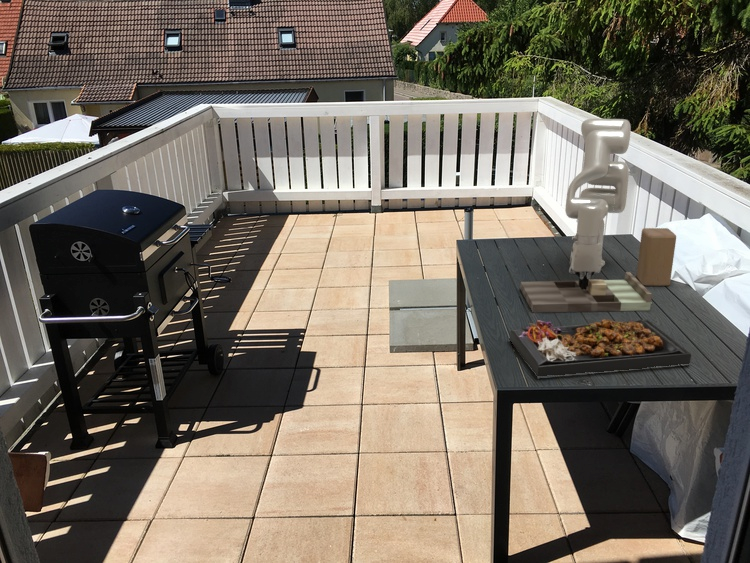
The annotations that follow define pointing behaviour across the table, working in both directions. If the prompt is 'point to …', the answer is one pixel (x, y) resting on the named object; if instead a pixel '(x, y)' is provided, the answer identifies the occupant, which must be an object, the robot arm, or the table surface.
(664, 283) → the block
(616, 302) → the board
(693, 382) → the table surface
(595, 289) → the birch block
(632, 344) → the food platter
